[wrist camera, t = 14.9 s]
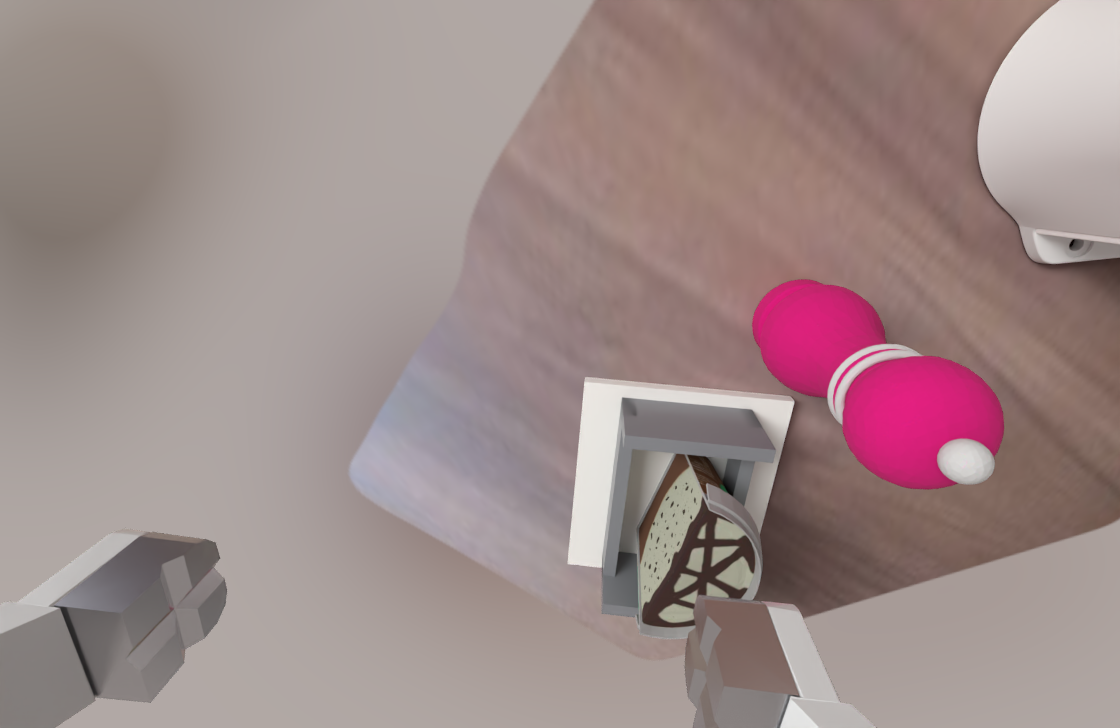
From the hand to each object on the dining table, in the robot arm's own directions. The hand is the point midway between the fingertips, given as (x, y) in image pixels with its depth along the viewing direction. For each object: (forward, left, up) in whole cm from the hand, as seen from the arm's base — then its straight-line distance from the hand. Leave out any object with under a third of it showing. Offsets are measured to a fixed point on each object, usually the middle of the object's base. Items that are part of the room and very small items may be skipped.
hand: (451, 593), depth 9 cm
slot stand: (-10, +18, -31) cm, 37 cm away
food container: (-12, +18, -30) cm, 37 cm away
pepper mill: (-17, +3, -31) cm, 36 cm away
